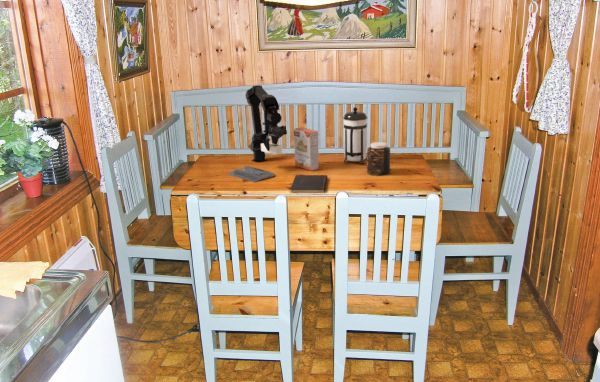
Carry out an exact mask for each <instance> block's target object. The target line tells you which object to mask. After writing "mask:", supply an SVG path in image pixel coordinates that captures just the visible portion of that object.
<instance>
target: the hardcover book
mask: <svg viewBox="0 0 600 382" xmlns="http://www.w3.org/2000/svg"><path fill="white" fill-rule="evenodd" d="M328 178H329V177H328V175H326V174H304V175H303V174H298V175H297V174H296V175H295V176H294V178H293V181H292V183H291V186H290V188H289V190H290V193H291V194H292V193H293V194H296V193H297V194H298V193H299V194H300V193H301V194H304V193H305V194H307V193H309V194H311V193H313V194H314V193H315V194H317V193H322V194H323V193H324V194H325V192H326V187H327V183H328Z"/></svg>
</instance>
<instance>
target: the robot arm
mask: <svg viewBox="0 0 600 382" xmlns="http://www.w3.org/2000/svg"><path fill="white" fill-rule="evenodd" d="M245 100H246V103H247V104H248V105H249V106H250V112H251V119H252V128H253V134H252V137H251V143H250V146H249V148H250V151H251V152H253V153H252V154H253V158H252V159H251V161H252V162H256V163H262V162H265V161H268V158H266V152H263V151H261V144H262V143H264V145H265V147H266V149H267V151H269V143H270V141H271V143H272V144H277V145H278V141H279V139H280V138H282V137H283V136H285V135H287V134H288V131H287V127H286V126H285V125H280V126H279V123H281V122H282V115H281V114H280V113H279V112H278V111H280V105H279V101H278V100H277V98H276V97H275V96H274V95H273V94H268V93H267V91H266V90H265V89H264V88H263V85H260V84H257V85H253V86H251V88H249V89H247V90H246V92H245ZM260 106H261V108H262V111H263V120H264V122H262V118H261V111H260ZM262 125H263V126H264V130H263V126H262ZM270 137H271V138H270Z"/></svg>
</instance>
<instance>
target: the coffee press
mask: <svg viewBox="0 0 600 382" xmlns="http://www.w3.org/2000/svg"><path fill="white" fill-rule="evenodd" d="M342 119H343V136H344V137H343V138H344V139H343V141H344V142H343V143H344V144H343V145H344V147H343V148H344V149H343V150H344V160H343V164H344V165H347V164H348V163H349V162H359V163H360V164H361V165H365V161H367V128H368V121H367V119H368V116H367V114H366V113H365V112H363V111H358V108H357V107H353V109H352V111H348V112H346V113H345V114H344V116H343V118H342Z"/></svg>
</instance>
